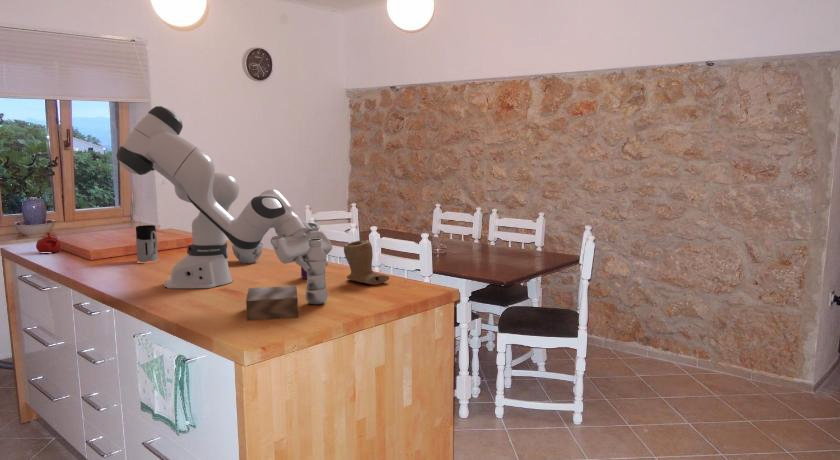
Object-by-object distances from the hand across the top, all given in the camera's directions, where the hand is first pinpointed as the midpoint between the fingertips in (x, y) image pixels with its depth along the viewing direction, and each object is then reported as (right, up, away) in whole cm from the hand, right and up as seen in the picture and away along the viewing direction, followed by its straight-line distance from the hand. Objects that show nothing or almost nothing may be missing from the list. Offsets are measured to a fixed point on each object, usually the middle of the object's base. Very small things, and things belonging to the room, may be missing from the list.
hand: (317, 267), depth 187 cm
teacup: (-41, -2, +69) cm, 80 cm away
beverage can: (-9, -6, +39) cm, 40 cm away
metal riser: (-12, -13, -8) cm, 19 cm away
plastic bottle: (-1, -11, +2) cm, 12 cm away
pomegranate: (-138, +1, +92) cm, 166 cm away
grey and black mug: (-81, -2, +68) cm, 106 cm away
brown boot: (+11, -7, +31) cm, 34 cm away
